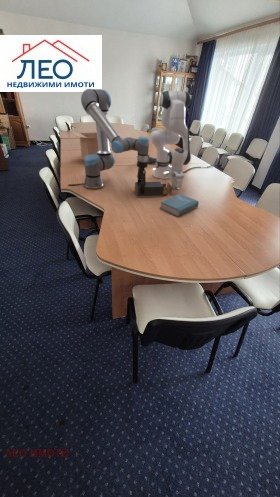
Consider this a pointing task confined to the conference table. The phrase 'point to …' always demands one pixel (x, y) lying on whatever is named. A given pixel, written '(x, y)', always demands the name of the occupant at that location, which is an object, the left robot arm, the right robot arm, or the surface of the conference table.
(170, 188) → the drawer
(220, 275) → the conference table surface
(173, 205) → the book
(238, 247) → the conference table surface
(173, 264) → the conference table surface
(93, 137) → the box
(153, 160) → the laser sight
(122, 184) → the conference table surface
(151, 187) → the dark boxy piece
